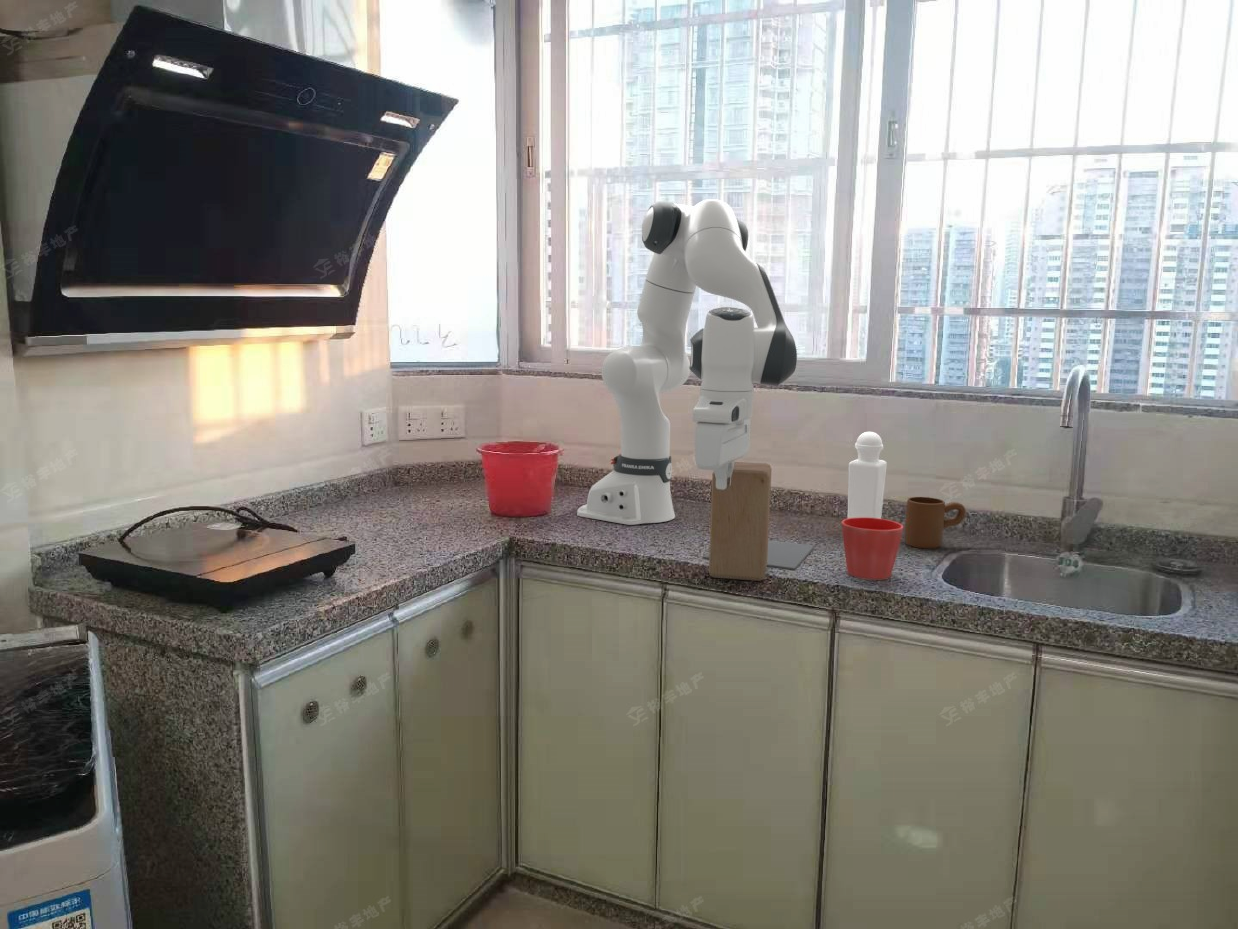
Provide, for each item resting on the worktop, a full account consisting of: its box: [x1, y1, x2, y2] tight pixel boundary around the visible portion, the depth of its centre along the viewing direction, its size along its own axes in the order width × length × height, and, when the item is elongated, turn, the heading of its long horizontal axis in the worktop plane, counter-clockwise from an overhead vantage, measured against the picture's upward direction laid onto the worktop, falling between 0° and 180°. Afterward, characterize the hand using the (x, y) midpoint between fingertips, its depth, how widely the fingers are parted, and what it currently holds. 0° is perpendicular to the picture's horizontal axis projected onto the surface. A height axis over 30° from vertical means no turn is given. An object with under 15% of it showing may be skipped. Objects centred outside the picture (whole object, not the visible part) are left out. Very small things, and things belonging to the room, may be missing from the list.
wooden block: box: [708, 461, 772, 582], centre depth 172 cm, size 10×10×20 cm
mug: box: [903, 496, 967, 550], centre depth 196 cm, size 12×8×9 cm, turn 87°
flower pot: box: [841, 517, 905, 581], centre depth 174 cm, size 11×11×10 cm
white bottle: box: [847, 431, 888, 519], centre depth 205 cm, size 6×6×22 cm
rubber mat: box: [702, 539, 815, 571], centre depth 188 cm, size 18×18×1 cm
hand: (723, 487), depth 161 cm, fingers closed
